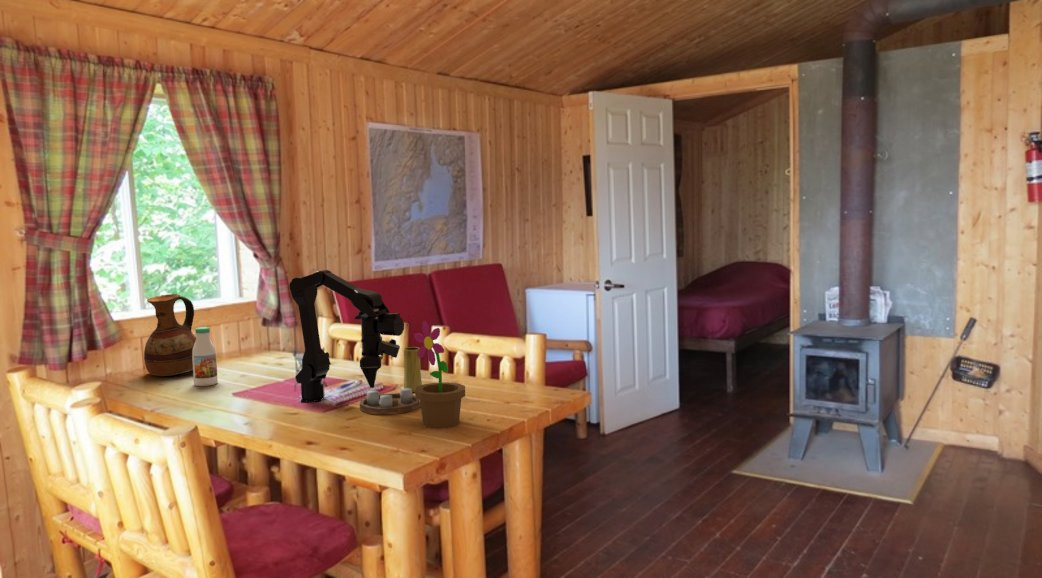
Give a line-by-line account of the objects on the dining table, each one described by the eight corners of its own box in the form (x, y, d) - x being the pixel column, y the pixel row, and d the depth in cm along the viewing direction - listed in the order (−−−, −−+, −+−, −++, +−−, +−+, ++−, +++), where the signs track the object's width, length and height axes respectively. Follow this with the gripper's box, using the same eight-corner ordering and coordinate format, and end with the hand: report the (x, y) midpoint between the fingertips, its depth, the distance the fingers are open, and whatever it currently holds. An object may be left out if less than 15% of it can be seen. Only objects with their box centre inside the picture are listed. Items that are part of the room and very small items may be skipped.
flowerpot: (405, 424, 218) (402, 319, 215) (442, 413, 229) (440, 313, 225) (439, 434, 209) (436, 325, 205) (477, 422, 219) (475, 318, 216)
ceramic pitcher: (134, 376, 284) (128, 295, 281) (183, 365, 301) (178, 289, 298) (166, 382, 274) (161, 298, 270) (215, 370, 291) (210, 292, 287)
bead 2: (380, 411, 230) (379, 398, 229) (380, 407, 233) (380, 395, 233) (392, 410, 231) (392, 397, 230) (392, 407, 234) (392, 394, 234)
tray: (357, 416, 227) (357, 410, 227) (361, 400, 245) (361, 394, 245) (420, 413, 229) (420, 407, 229) (419, 397, 248) (419, 392, 247)
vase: (418, 393, 253) (417, 350, 252) (401, 392, 255) (399, 349, 253) (424, 388, 259) (423, 346, 258) (407, 387, 261) (406, 346, 259)
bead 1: (366, 406, 235) (366, 393, 235) (367, 403, 239) (366, 390, 238) (378, 405, 236) (378, 393, 235) (379, 402, 239) (378, 390, 239)
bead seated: (400, 404, 238) (400, 391, 237) (400, 401, 241) (400, 388, 241) (412, 403, 238) (411, 390, 238) (412, 400, 242) (411, 388, 241)
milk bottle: (189, 385, 268) (185, 329, 265) (205, 380, 275) (202, 325, 273) (206, 387, 265) (202, 330, 263) (222, 382, 272) (219, 326, 270)
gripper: (397, 338, 227) (398, 390, 228) (398, 328, 245) (400, 376, 247) (358, 339, 225) (360, 392, 227) (362, 329, 244) (364, 377, 245)
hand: (372, 384), depth 237 cm, fingers open, 9 cm apart
